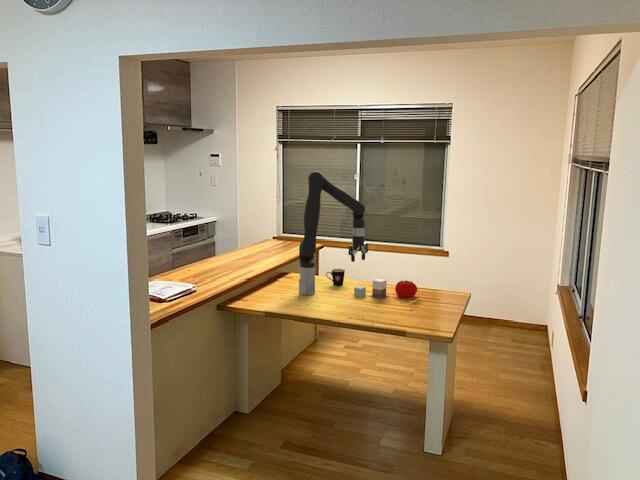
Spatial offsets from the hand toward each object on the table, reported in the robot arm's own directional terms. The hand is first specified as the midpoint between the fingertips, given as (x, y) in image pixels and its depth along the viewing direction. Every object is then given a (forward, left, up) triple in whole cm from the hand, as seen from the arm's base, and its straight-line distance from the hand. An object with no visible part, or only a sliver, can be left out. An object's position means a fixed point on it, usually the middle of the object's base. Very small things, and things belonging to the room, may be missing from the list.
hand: (358, 260), depth 329 cm
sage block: (-7, -6, -20) cm, 22 cm away
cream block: (-1, -16, -15) cm, 22 cm away
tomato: (+10, -28, -21) cm, 37 cm away
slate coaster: (-1, -16, -20) cm, 26 cm away
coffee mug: (+7, +23, -21) cm, 32 cm away
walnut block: (-1, -16, -20) cm, 26 cm away
